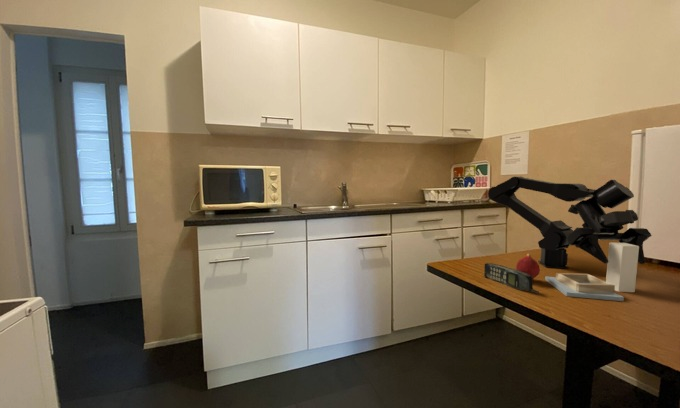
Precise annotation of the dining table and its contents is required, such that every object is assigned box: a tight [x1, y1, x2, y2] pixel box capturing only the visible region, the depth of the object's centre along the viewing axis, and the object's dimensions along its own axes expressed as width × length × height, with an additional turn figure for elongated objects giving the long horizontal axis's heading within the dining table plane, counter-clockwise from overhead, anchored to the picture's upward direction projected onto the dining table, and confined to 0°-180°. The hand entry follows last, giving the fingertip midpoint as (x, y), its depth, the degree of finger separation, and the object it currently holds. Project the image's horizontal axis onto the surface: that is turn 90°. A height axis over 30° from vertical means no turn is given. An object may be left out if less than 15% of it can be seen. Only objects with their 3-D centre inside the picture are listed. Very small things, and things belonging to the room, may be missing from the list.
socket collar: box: [555, 272, 615, 293], centre depth 76 cm, size 9×9×2 cm
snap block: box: [605, 242, 639, 293], centre depth 76 cm, size 4×4×12 cm
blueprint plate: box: [545, 275, 625, 302], centre depth 76 cm, size 12×12×1 cm
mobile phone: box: [483, 262, 539, 294], centre depth 79 cm, size 5×3×15 cm
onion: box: [515, 253, 541, 279], centre depth 82 cm, size 6×6×8 cm
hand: (624, 263), depth 75 cm, fingers open, 9 cm apart
